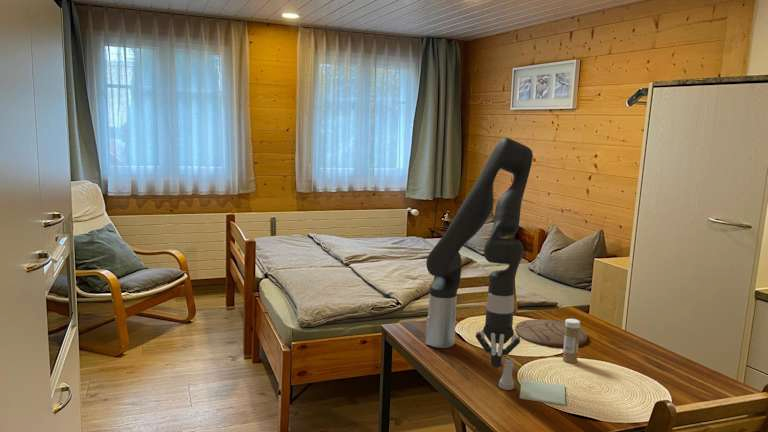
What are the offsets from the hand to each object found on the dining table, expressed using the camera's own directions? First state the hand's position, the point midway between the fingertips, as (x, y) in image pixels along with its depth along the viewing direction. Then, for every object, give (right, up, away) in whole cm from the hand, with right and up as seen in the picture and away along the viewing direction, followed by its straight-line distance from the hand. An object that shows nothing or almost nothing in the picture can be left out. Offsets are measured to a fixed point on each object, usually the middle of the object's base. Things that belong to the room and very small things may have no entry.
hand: (496, 366), depth 166 cm
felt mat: (+13, -7, -2) cm, 14 cm away
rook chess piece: (+3, -6, 0) cm, 7 cm away
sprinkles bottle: (+28, -4, +21) cm, 35 cm away
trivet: (+28, 0, +45) cm, 53 cm away
